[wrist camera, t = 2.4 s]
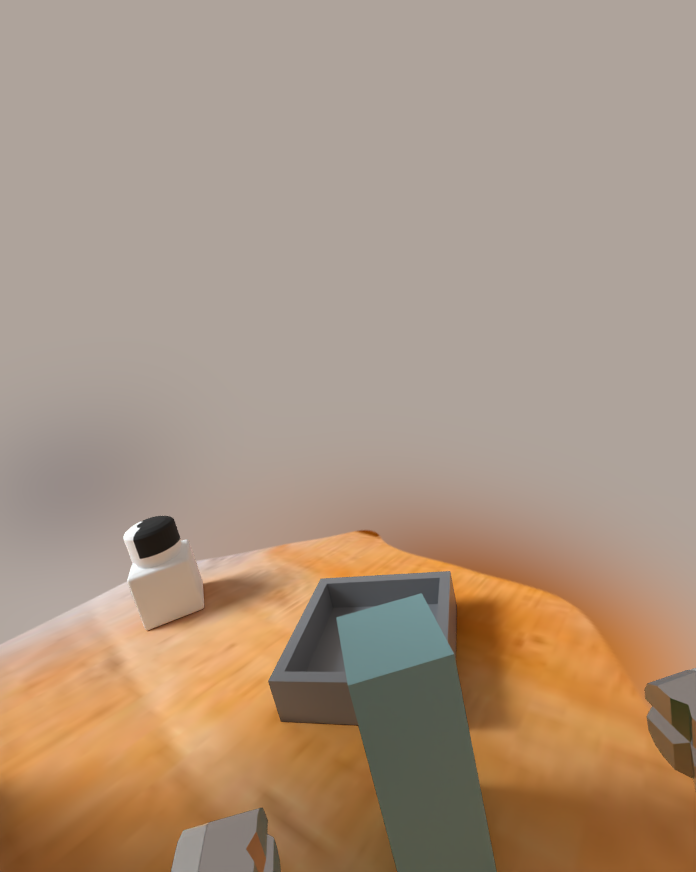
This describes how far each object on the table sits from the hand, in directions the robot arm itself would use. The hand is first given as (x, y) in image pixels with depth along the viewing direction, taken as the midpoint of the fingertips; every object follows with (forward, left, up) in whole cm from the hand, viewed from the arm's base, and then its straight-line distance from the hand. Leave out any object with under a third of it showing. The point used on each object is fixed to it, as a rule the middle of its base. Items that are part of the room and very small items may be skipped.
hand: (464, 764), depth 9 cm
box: (-11, +25, -20) cm, 34 cm away
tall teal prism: (-5, +11, -20) cm, 23 cm away
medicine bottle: (-40, +34, -20) cm, 56 cm away
